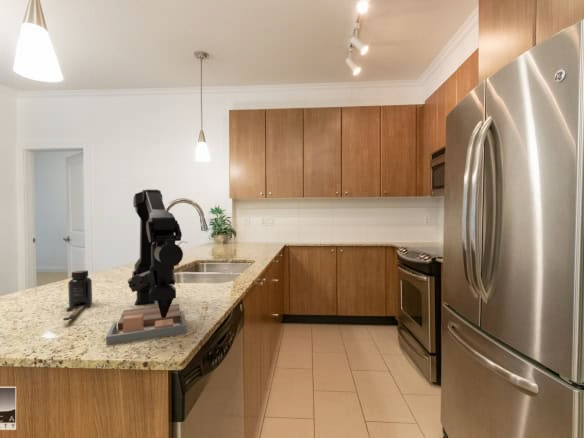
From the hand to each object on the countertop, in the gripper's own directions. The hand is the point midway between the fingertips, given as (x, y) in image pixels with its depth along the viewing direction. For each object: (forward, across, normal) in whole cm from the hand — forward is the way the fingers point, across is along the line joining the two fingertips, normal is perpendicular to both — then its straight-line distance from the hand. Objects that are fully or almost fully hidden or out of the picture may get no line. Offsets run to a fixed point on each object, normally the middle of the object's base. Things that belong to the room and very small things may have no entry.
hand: (163, 317), depth 82 cm
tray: (+4, +2, -4) cm, 6 cm away
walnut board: (+4, -9, -4) cm, 10 cm away
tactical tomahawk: (+5, -21, -29) cm, 36 cm away
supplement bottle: (+4, -37, -28) cm, 46 cm away
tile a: (+1, -1, -7) cm, 7 cm away
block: (+1, +3, 0) cm, 3 cm away
